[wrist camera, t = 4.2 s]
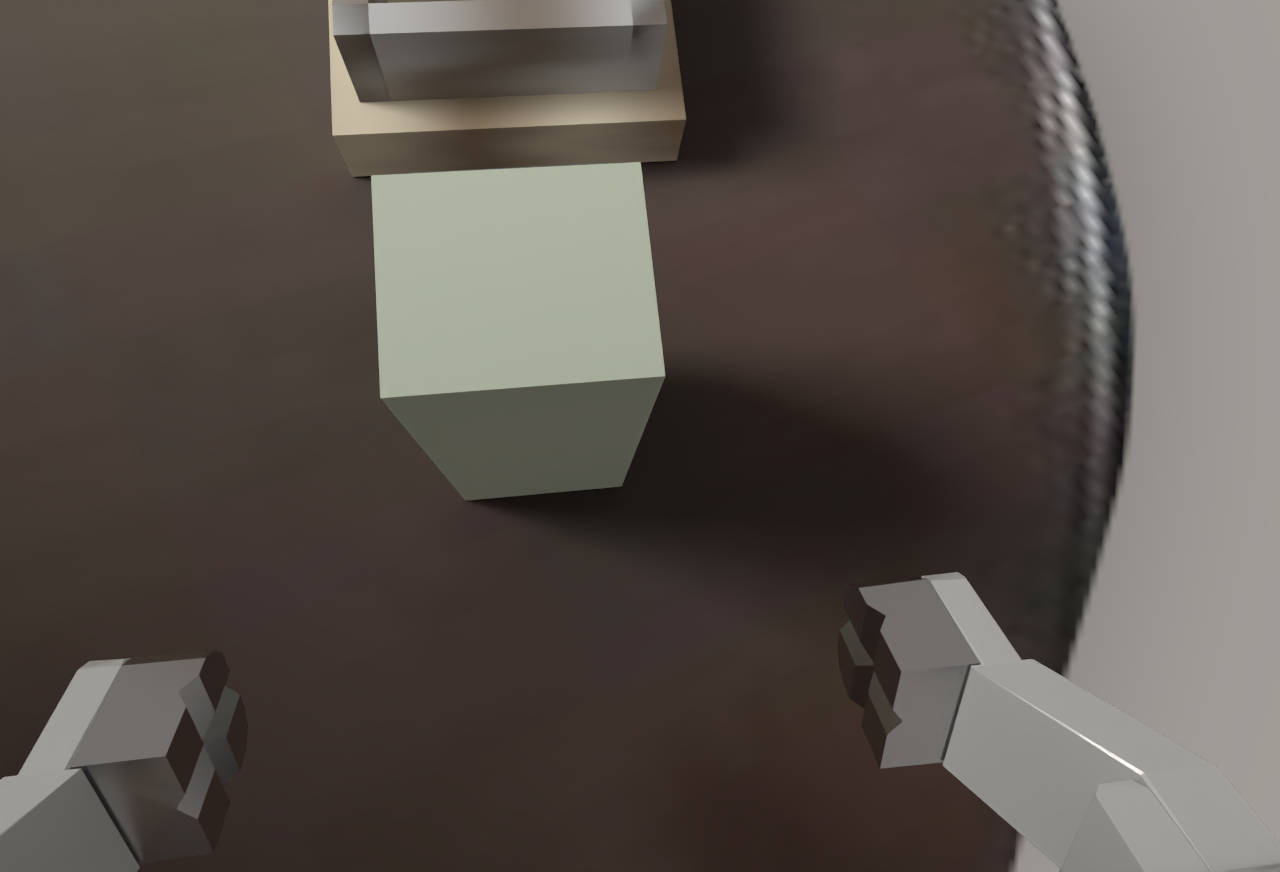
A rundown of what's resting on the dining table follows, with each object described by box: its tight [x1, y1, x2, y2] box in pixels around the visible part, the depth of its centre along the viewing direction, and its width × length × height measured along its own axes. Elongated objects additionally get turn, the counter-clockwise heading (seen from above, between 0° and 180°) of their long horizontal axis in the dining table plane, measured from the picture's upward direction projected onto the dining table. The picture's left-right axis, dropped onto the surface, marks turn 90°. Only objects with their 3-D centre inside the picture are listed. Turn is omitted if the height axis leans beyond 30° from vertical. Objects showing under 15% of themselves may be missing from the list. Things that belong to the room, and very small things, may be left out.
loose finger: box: [371, 162, 665, 501], centre depth 17 cm, size 4×4×10 cm
